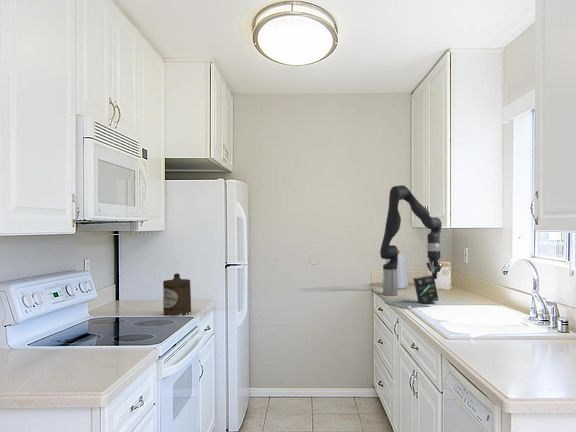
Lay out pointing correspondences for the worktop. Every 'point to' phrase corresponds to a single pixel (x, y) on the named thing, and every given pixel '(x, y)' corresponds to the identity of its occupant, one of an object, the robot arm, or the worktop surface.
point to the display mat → (406, 304)
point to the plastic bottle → (401, 271)
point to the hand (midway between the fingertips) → (434, 279)
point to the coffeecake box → (443, 276)
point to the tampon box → (426, 289)
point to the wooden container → (176, 296)
